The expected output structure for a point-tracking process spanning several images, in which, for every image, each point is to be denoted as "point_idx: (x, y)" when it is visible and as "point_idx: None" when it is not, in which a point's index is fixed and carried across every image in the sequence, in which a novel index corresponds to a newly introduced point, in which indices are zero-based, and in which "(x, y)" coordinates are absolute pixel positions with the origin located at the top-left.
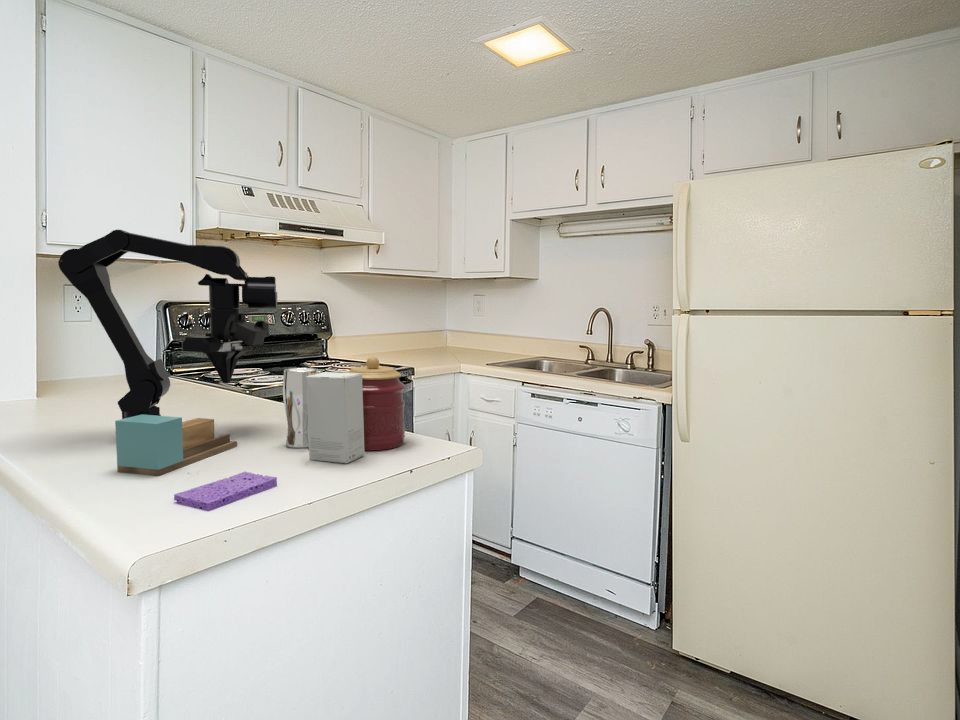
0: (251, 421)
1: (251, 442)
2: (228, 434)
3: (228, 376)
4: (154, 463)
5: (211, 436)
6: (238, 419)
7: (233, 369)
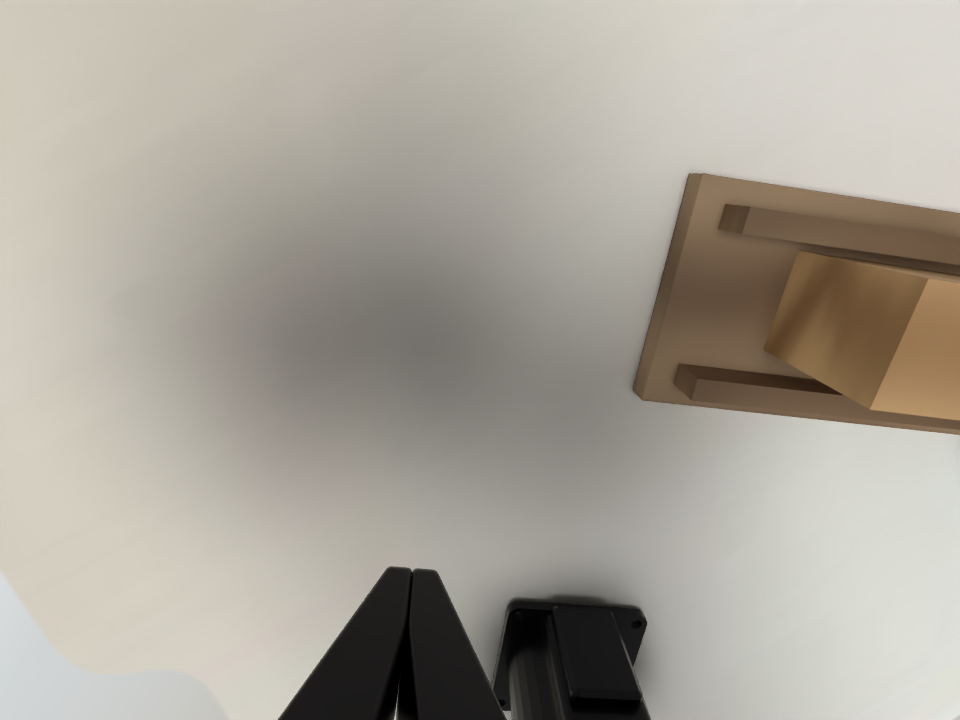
0: (79, 405)
1: (594, 133)
2: (753, 214)
3: (439, 625)
4: None
5: (862, 262)
6: (66, 496)
7: (319, 701)
